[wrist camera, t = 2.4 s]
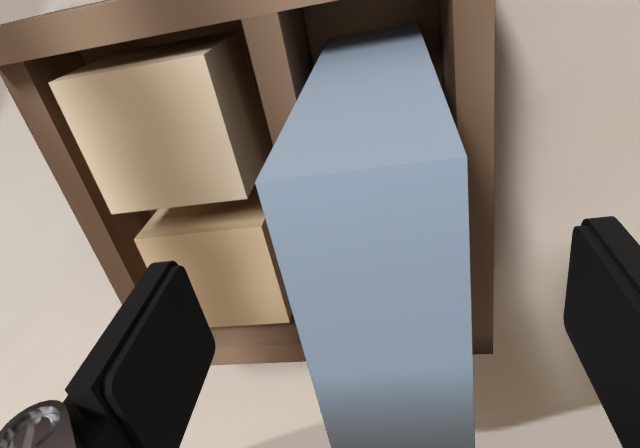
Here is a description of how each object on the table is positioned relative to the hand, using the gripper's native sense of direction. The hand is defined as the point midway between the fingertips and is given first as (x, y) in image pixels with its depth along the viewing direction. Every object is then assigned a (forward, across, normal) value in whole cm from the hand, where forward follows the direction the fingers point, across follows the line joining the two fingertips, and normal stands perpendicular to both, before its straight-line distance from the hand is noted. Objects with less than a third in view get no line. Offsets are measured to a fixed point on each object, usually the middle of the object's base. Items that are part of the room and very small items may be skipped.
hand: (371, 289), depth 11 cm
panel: (+8, -1, 0) cm, 8 cm away
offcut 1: (+8, +6, -3) cm, 11 cm away
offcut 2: (+8, +6, +3) cm, 11 cm away
